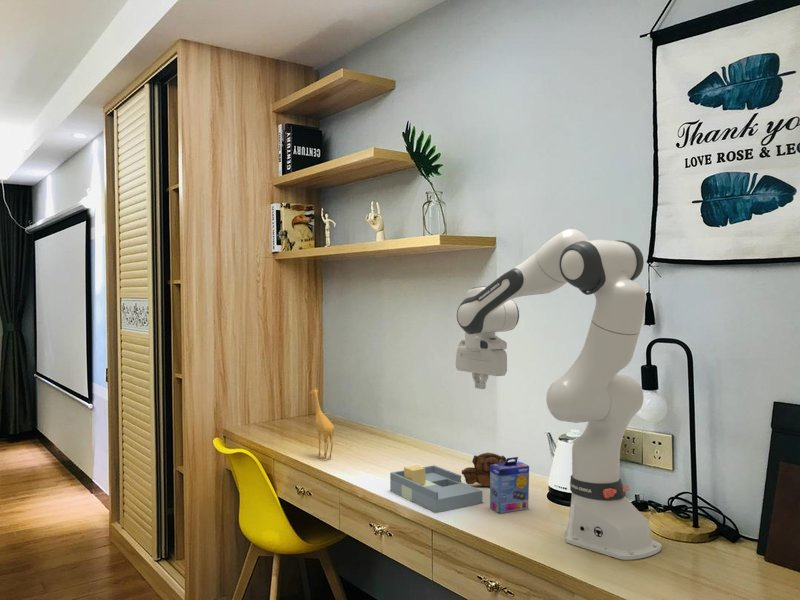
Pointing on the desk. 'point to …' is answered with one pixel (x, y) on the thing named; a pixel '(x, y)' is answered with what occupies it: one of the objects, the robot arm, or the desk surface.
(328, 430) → the giraffe
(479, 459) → the wooden carving
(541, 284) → the robot arm
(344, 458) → the desk surface
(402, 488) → the tray
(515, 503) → the ink cartridge box
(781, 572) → the desk surface
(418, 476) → the block
